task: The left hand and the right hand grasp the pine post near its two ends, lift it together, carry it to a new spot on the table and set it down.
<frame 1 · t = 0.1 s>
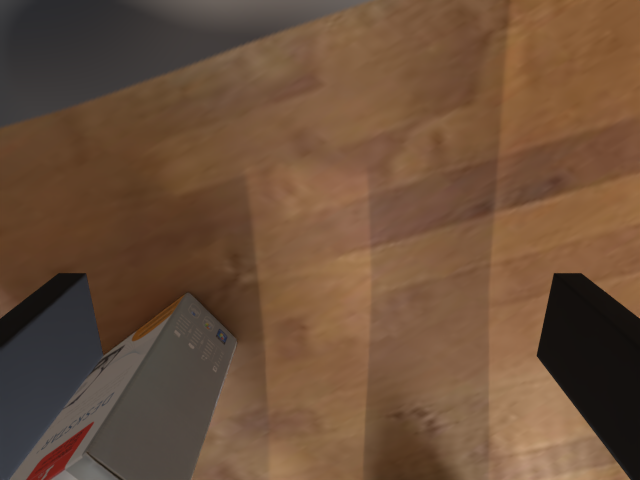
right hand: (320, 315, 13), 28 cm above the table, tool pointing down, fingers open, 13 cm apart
hard drive box: (161, 353, 46), on the table
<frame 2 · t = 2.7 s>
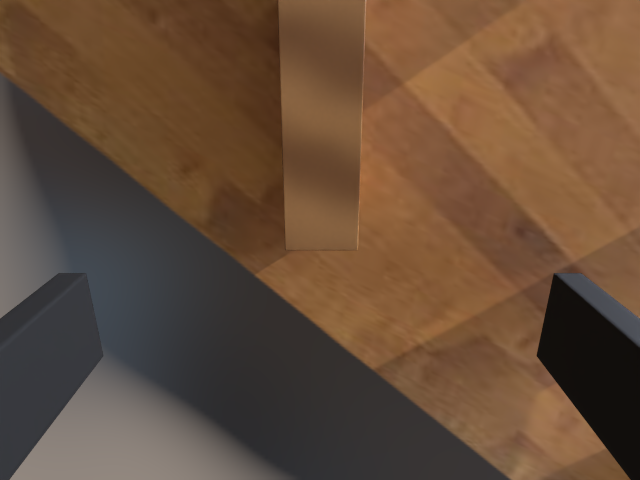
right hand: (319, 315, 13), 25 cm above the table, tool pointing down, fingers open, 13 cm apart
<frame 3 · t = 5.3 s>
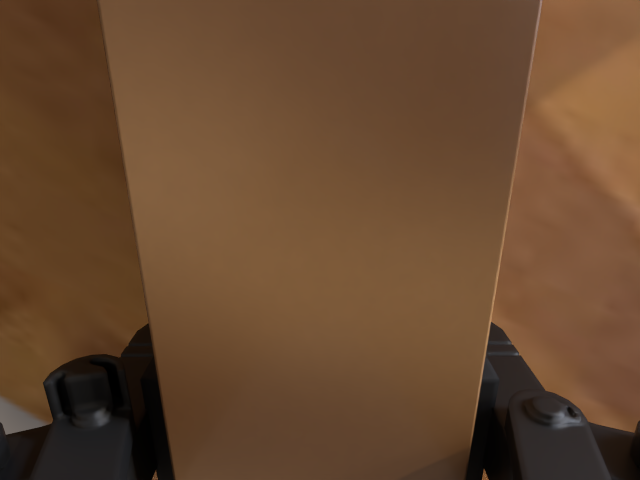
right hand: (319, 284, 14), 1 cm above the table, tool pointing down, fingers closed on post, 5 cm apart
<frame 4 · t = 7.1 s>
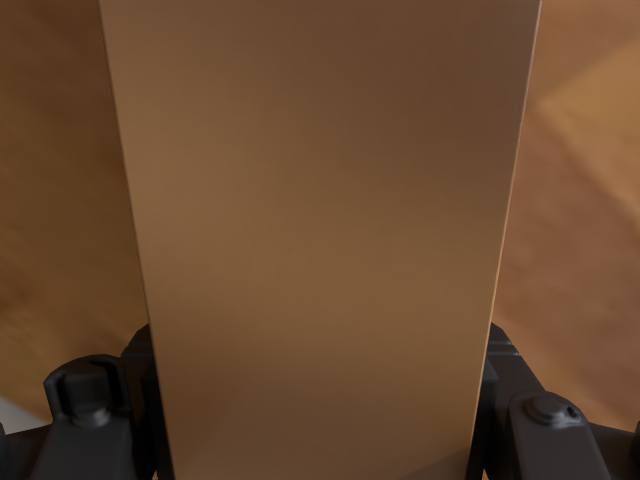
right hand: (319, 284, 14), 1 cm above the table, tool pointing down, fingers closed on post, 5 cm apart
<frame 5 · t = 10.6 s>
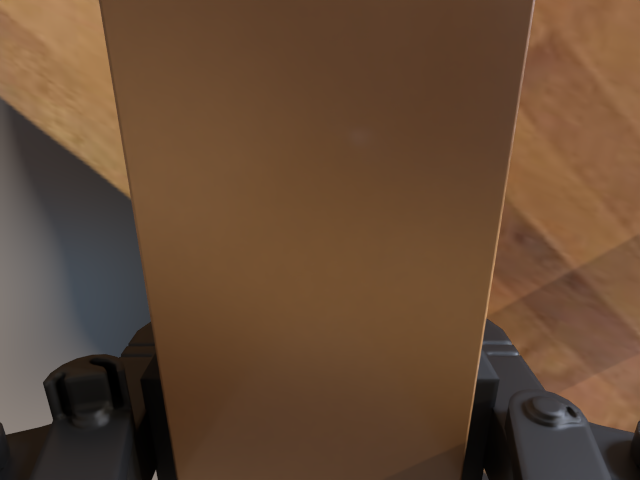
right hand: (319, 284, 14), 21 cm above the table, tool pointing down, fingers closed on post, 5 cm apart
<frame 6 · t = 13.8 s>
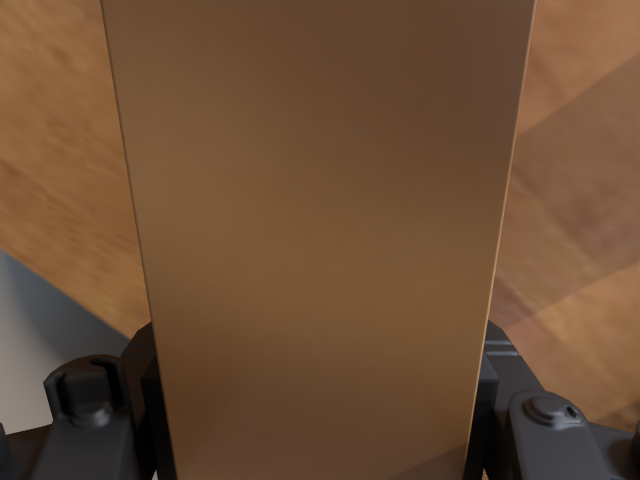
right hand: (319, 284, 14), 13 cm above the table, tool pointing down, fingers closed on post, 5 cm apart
when the right hand's fingers open (2 cm above the table, at t = 16.1 s): post moves 1 cm, on the table.
when the left hand's fingers open (4 cm above the table, at t = 16.3 s): post stays where it is, on the table.
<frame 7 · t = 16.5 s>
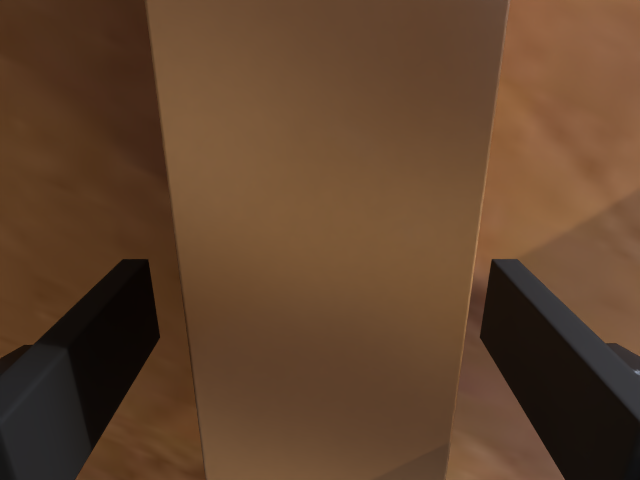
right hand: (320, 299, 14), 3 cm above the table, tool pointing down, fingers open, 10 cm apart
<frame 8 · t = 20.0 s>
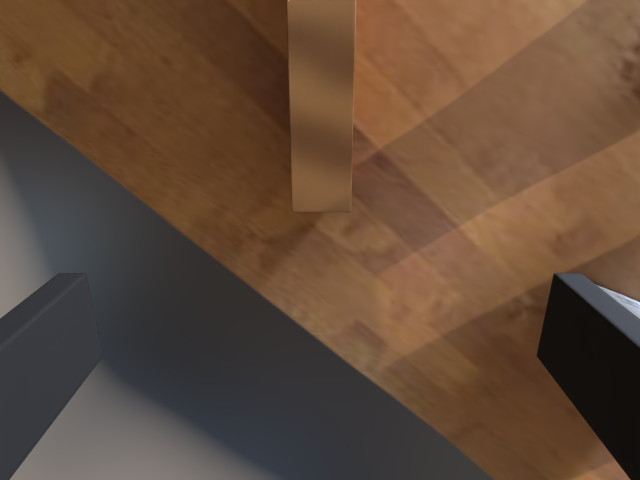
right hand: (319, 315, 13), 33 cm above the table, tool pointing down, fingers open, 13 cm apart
hard drive box: (627, 330, 51), on the table
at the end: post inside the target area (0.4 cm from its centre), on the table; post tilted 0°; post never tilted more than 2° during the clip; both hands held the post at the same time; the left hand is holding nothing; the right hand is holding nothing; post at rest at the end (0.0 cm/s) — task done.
